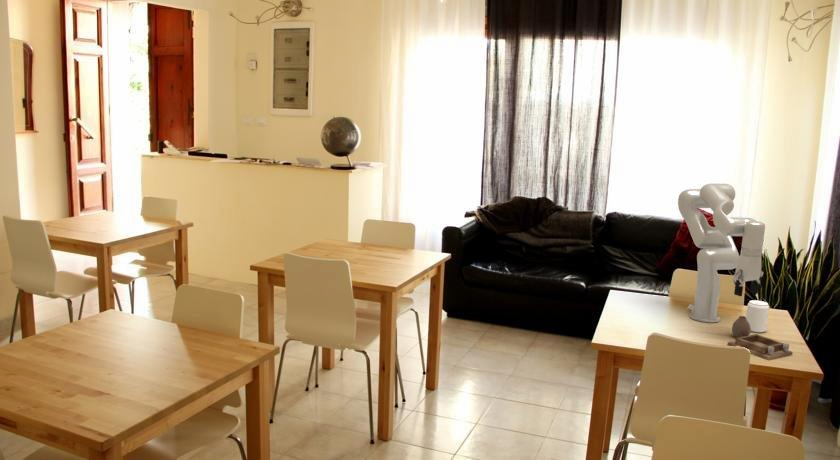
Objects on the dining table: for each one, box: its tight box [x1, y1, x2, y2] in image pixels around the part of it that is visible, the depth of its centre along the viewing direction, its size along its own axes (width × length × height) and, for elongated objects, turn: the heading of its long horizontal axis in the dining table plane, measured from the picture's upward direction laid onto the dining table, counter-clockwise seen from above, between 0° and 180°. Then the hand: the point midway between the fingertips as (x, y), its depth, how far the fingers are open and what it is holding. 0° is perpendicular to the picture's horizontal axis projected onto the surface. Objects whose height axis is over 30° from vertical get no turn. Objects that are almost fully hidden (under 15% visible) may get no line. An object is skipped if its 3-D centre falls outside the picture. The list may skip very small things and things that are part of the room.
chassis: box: [726, 333, 794, 361], centre depth 280 cm, size 18×14×4 cm
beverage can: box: [745, 299, 770, 334], centre depth 304 cm, size 8×8×12 cm
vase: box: [731, 315, 752, 339], centre depth 293 cm, size 7×7×9 cm
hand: (745, 294), depth 291 cm, fingers open, 9 cm apart
